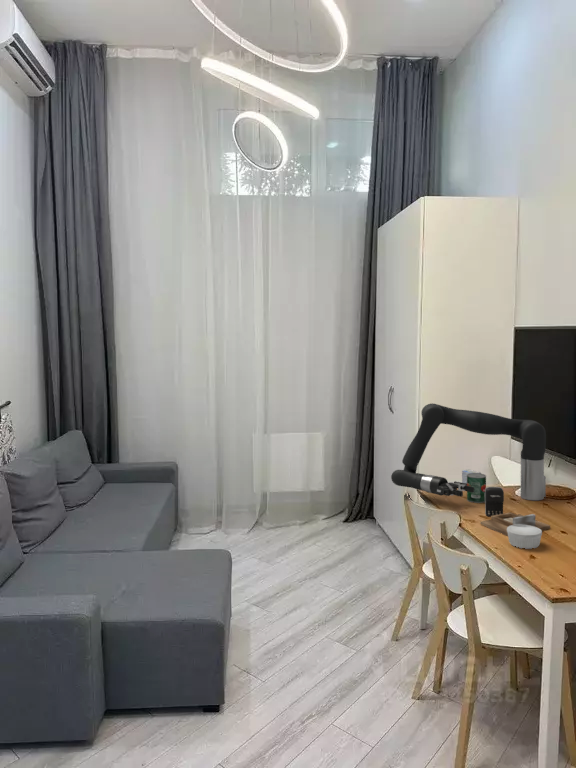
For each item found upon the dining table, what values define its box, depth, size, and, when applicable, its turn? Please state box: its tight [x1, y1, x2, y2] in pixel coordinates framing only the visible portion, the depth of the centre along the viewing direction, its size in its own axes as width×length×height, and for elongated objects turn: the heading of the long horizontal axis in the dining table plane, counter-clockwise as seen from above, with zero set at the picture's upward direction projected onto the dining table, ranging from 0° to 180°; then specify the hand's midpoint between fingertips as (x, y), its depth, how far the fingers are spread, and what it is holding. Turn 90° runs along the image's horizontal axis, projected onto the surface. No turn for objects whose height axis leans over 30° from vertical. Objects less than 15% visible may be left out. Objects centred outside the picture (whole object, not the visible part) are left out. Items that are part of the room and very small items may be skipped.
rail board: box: [480, 512, 551, 537], centre depth 217 cm, size 19×15×5 cm
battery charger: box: [484, 486, 505, 517], centre depth 229 cm, size 7×4×11 cm, turn 77°
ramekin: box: [507, 525, 543, 550], centre depth 199 cm, size 11×11×5 cm
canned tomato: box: [466, 473, 487, 504], centre depth 251 cm, size 8×8×11 cm
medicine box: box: [461, 469, 482, 487], centre depth 267 cm, size 8×4×9 cm, turn 27°
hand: (468, 491), depth 237 cm, fingers open, 8 cm apart
